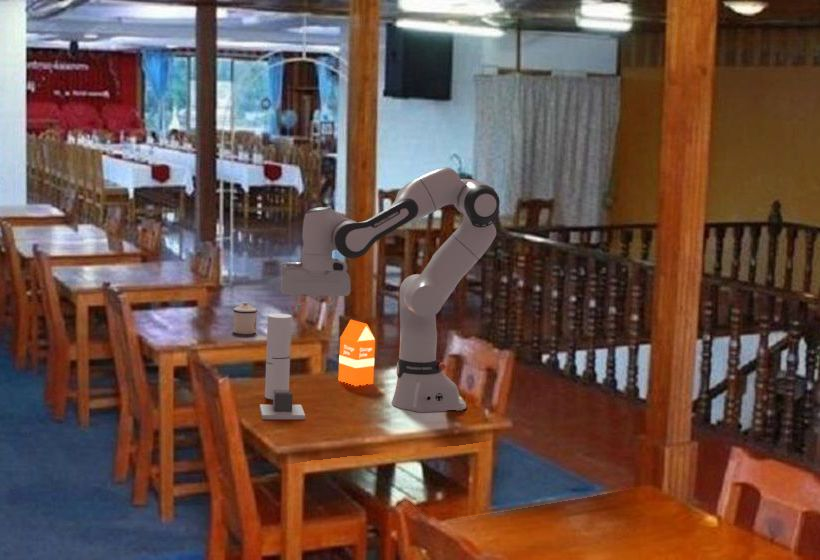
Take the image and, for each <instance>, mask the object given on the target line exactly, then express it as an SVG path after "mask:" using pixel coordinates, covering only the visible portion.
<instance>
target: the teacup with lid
mask: <svg viewBox="0 0 820 560" xmlns="http://www.w3.org/2000/svg"><path fill="white" fill-rule="evenodd" d="M257 312H258V310H257V308H255V307H253V306H252V305H250V304H249V302H248V301H245V302H244V301H243V302H242V304H241V305H238V306H236V307H234V308H233V327H232V330H233V331H232V332H233V333H234V334H237V335H252V334H253V333H254V334H255V333H257V315H258V314H257Z"/></svg>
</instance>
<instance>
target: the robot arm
mask: <svg viewBox="0 0 820 560" xmlns="http://www.w3.org/2000/svg"><path fill="white" fill-rule="evenodd" d="M500 203H501V202H500V197H499V195H498V193H497V191H495V189H494V188H492V187H491V186H489V185H488V184H487V183H485V182H483V181H480V180H476V179H474V178H472V177H461V176H460V175H459V174H458V172H457V171H456V170H455V169H453V168H451V167H448V166H447V167H446V166H445V167H441V168H437V169H434V170H432V171H429V172H427V173H425V174H423V175H420V176H418V177H415V178H414V179H413V180H411V181H409V182H408V183H407V184H405V185H404V186H403V187H401V189H399V190H398V192H397V194H396V197H395V199H394V201H393V202H392V203H391V205H390V206H388V207H387V208H386V209H384V210H383V211H381V212H379V213H376V214H375V215H373V216H372V217H370V218H368V219H366V220H364V221H360V222H357V221H355V220H353V219H351V218H347V217H345V216H343V215H341V214H340V213H338V212H336V211H335V210H333V209H332V208H331V207H329V206H319V207H314V208H310V209H309V210H307V212H305V215H304V217H303V223H302V241H303V242H302V243H303V245H302V249H301V261H300V262H285V263H283V264H281V266H280V269H279V270H280V271H279V273H280V276H281V282H280V292H281V294H282V295H284V296H285V295H289V296H290V295H291V296H292V300H293V302H294V303H295V310H296V311H302V303H301V302H300V303H299V302H298V300H297V299H298V298H299V296H326V297H327V296H331V297H332V302H330V303H328V305H327V306H328V307H327V311H329V312H334V311H335V305H336V304H337V302H338V300H339V297H348V296H349V295H350V294H351V290H352V289H351V288H352V287H351V286H352V285H351V278H350V274H349V273H348V272H347V271H348V264H347V262H345V261H344V260H343V261H342V260H341V259H337V258H334V257H333V252H334V251H338V253H339V254H341V255H342V256H343V257H345V258H347V259H359V258H361V257H363V256H364V255H365V254H367V253H368V252H369V250H370V249H371V248H372V247H373V245H374V244H375V243H376V242H377V241H378V240H380V239H381V238H384V237H385V236H387V235H388V234H390V233H391V232H394V231H395V230H398V229H399V228H400V227H402V226H404V225H406V224H408V223H410V222H414V221H416V220H420V219H421V218H424V217H426V216H428V215H430V214H432V213H434V212H436V211H438V210H440V209H442V208H443V207H447V206H450V205H451V206H452V207H453V208H454V209H455V210H456V211H458V212H459V213H460V214H462V215H463V216H462V220H461V223H460V225H459V226H458V228H456V230H454V232H453V233H452V234H451V235H450V236H449V237H448V238H447V239H446V241H444V243H443V244H441V246H440V247H439V248H438V249H437V250H436V251H435V253H433V255H432V257H431V259H430V260H429V262H428V263H427V265H426V266H425V268H424V269H423V270H422V272H421V273H416V274H411V275H409V276H407V277H406V278H404V279H403V281H402V282H401V284H400V288H399V325H400V326H399V327H400V329H399V330H400V336H399V352H398V353H399V354H398V357H397V362H396V376H397V378H396V385H395V388H394V389H395V390H394V393H393V396H392V397H393V398H392V400H391V405H392V406H395V407H396V408H400V409H404V410H409V411H413V412H416V413H417V412H418V413H432V411H433V412H434V411H435V412H448V411H447V410H456V411H464V410H463V409H465V408H466V409H467V404H466V402H465V400H463V399H462V398H460V393H459V392H460V391H459V389H458V386H457V384H456V383H455V382H454V381H452V379H450V378H449V377H448V376H447V375H446V374H444V373H443V372H442V371H445V370H446V368H447V366H446V364H445V363H444V362H441V361H440V360H439V359H437V343H438V331H437V316H436V315H437V314H438V313H439V312H440V311H441V310H442V308H443V305H444V304H445V303H446V301H447V300H448V299H449V297H450V295H451V294H453V291H454V290H455V288H456V287H457V285H458V284H459V282H460V281H461V280H462V279H463V278H464V277H465V275H467V273H468V272H469V271H470V270H471V269H472V268H473V267H474V265H475V264H477V262H478V261H479V260H480V259H481V258H482V257H483V255H484V254H485V253H486V252H487V251H488V250H489V248H490V246H491V245H492V244H493V241H494V240H495V238H496V236H497V228H496V226H495V224H494V222H495V220H496V217H497V214H498V212H499V209H500ZM466 409H465V410H466Z"/></svg>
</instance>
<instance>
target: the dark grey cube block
mask: <svg viewBox="0 0 820 560" xmlns="http://www.w3.org/2000/svg"><path fill="white" fill-rule="evenodd" d="M272 401H273V402H272V405H273V409H274V412H292V405H293V392H292V390H289V391H281V390H274V395H273V399H272Z"/></svg>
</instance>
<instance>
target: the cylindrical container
mask: <svg viewBox="0 0 820 560" xmlns="http://www.w3.org/2000/svg"><path fill="white" fill-rule="evenodd" d="M266 329H267V330H266V331H267V332H266V353H265V354H266V357H265V361H266V362H265V382H264V383H265V384H264V385H265V386H264V387H265V388H264V397H265V398H266V399H269V400H273V395H274V390H281V391H290V369H291V368H290V367H291V345H292V343H291V342H292V315H291V314H287V313H269V314H267V328H266Z"/></svg>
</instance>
